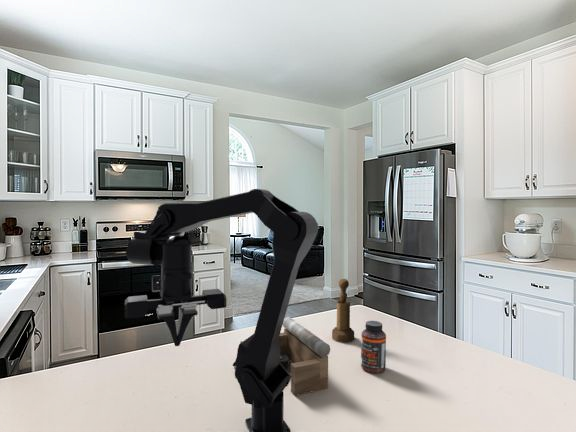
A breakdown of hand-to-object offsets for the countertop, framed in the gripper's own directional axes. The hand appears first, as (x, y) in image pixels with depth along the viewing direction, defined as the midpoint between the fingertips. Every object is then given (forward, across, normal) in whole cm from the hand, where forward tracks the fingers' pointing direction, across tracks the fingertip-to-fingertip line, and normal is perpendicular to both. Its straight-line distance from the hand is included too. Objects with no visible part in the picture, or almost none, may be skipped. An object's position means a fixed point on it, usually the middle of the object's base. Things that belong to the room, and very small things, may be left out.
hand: (177, 345), depth 71 cm
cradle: (+12, -27, -4) cm, 30 cm away
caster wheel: (+12, -22, -8) cm, 26 cm away
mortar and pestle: (+12, -50, -18) cm, 55 cm away
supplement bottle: (+12, -46, +2) cm, 48 cm away
